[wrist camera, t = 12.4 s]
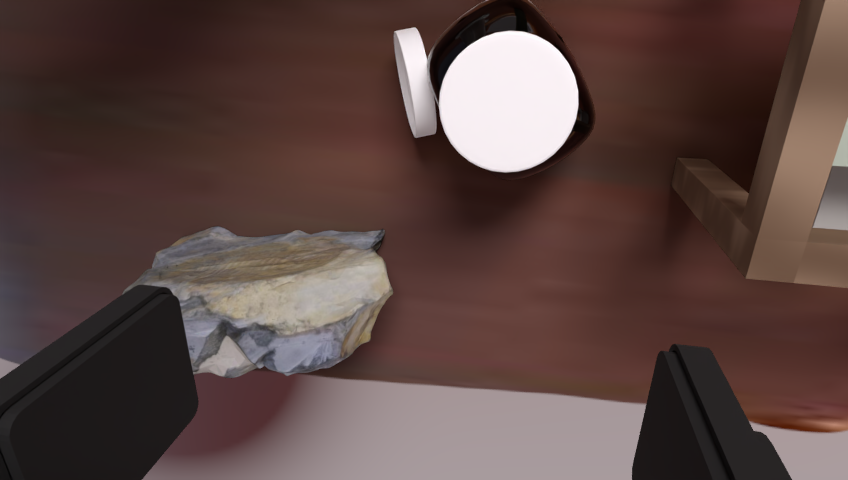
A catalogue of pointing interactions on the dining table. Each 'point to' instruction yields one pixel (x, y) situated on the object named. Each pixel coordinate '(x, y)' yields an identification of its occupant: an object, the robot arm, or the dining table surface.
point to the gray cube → (834, 201)
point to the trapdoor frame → (786, 165)
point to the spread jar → (498, 89)
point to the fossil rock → (273, 297)
